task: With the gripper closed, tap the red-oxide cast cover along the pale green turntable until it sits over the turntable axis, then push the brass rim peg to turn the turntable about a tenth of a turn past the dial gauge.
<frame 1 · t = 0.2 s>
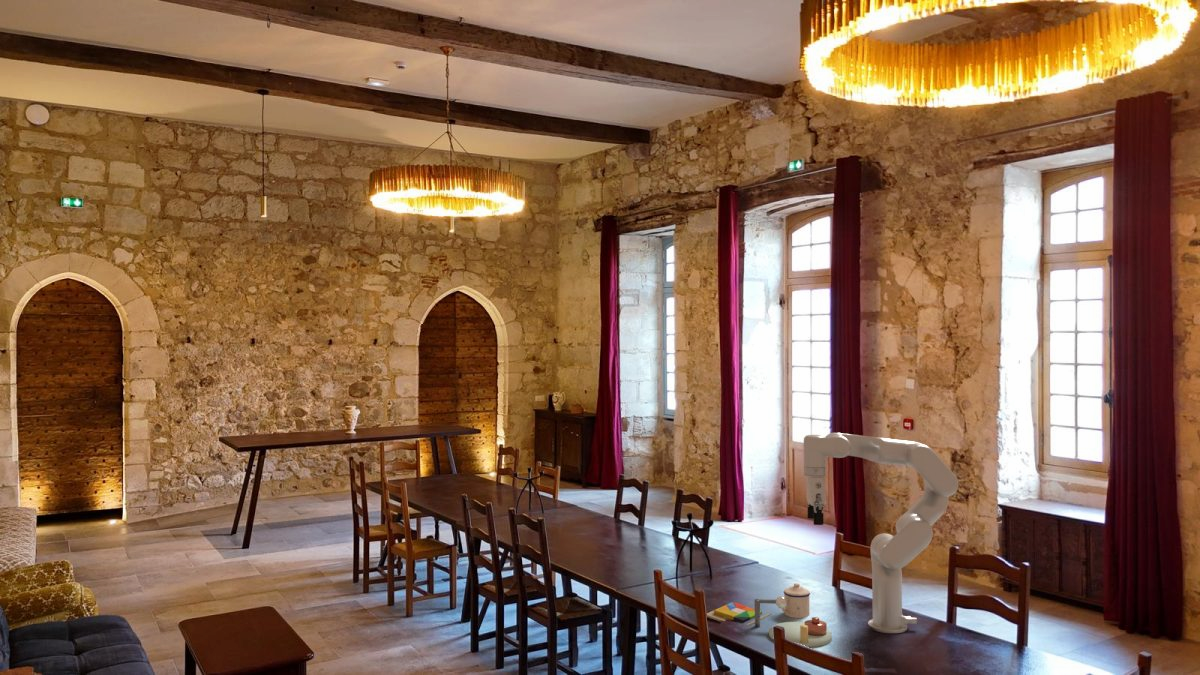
hand: (815, 521, 294), 36 cm above the table, tool pointing down, fingers open, 9 cm apart
turntable: (800, 626, 282), point 4 cm above the table, hinge at 0.0°, touching cover
wooden puzzle: (737, 619, 305), on the table
cover: (815, 632, 282), point 2 cm above the table, touching turntable
teacup with lid: (794, 617, 304), on the table
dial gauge: (757, 629, 293), resting in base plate
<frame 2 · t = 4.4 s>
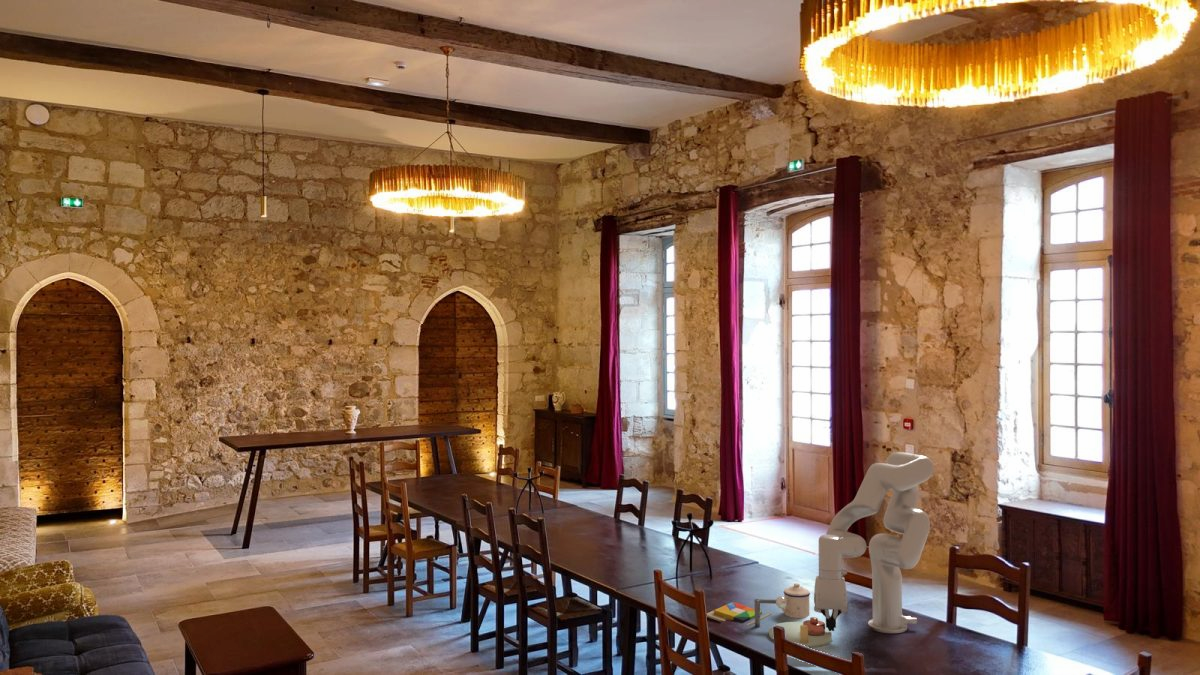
hand: (830, 629, 282), 3 cm above the table, tool pointing down, fingers closed
cover: (814, 632, 282), point 2 cm above the table, touching gripper, turntable
everything else where it was.
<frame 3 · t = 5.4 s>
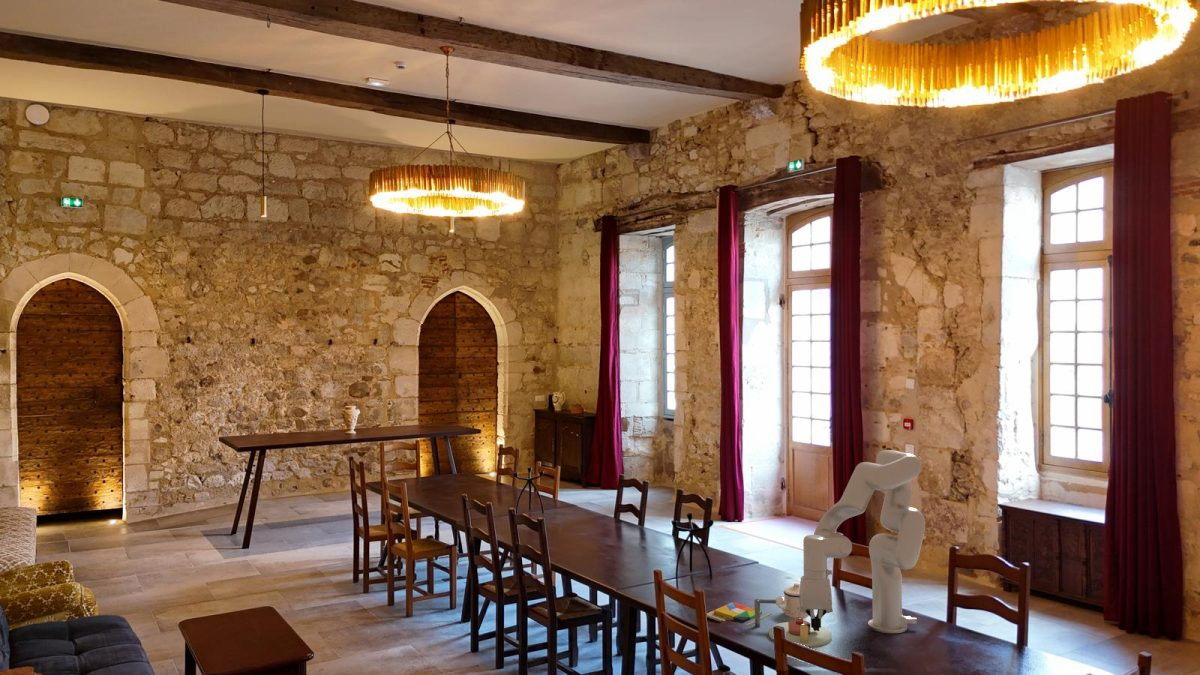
hand: (816, 629, 282), 3 cm above the table, tool pointing down, fingers closed
cover: (799, 632, 282), point 2 cm above the table, touching gripper, turntable
everything else where it was.
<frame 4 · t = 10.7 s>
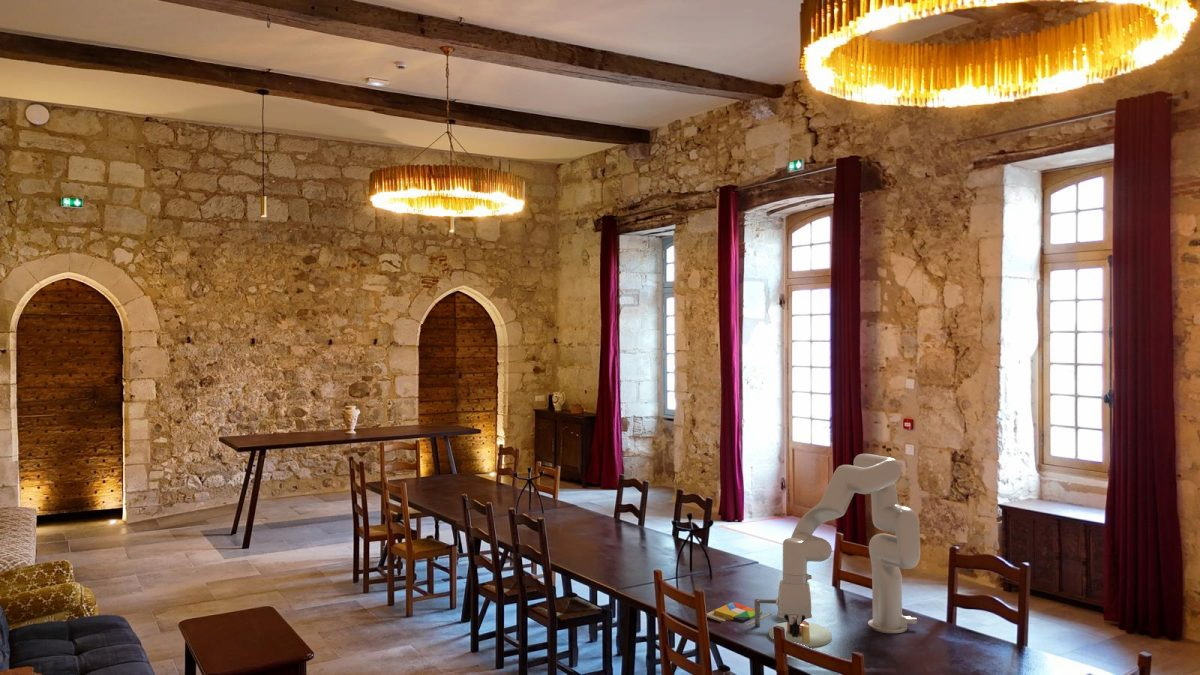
hand: (794, 635, 274), 4 cm above the table, tool pointing down, fingers closed
turntable: (800, 626, 282), point 4 cm above the table, hinge at 3.1°, touching cover, gripper
cover: (798, 632, 282), point 2 cm above the table, touching turntable
everything else where it was.
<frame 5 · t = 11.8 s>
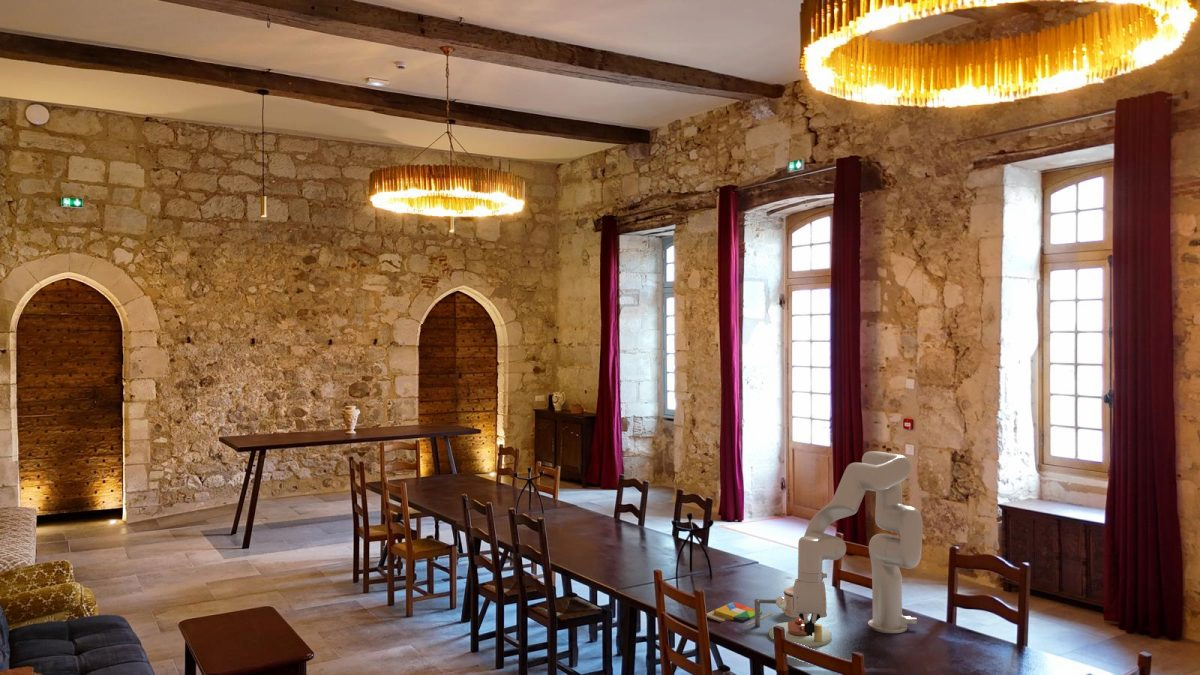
hand: (809, 634, 273), 5 cm above the table, tool pointing down, fingers closed
turntable: (800, 626, 282), point 4 cm above the table, hinge at 30.0°, touching cover, gripper
everything else where it was.
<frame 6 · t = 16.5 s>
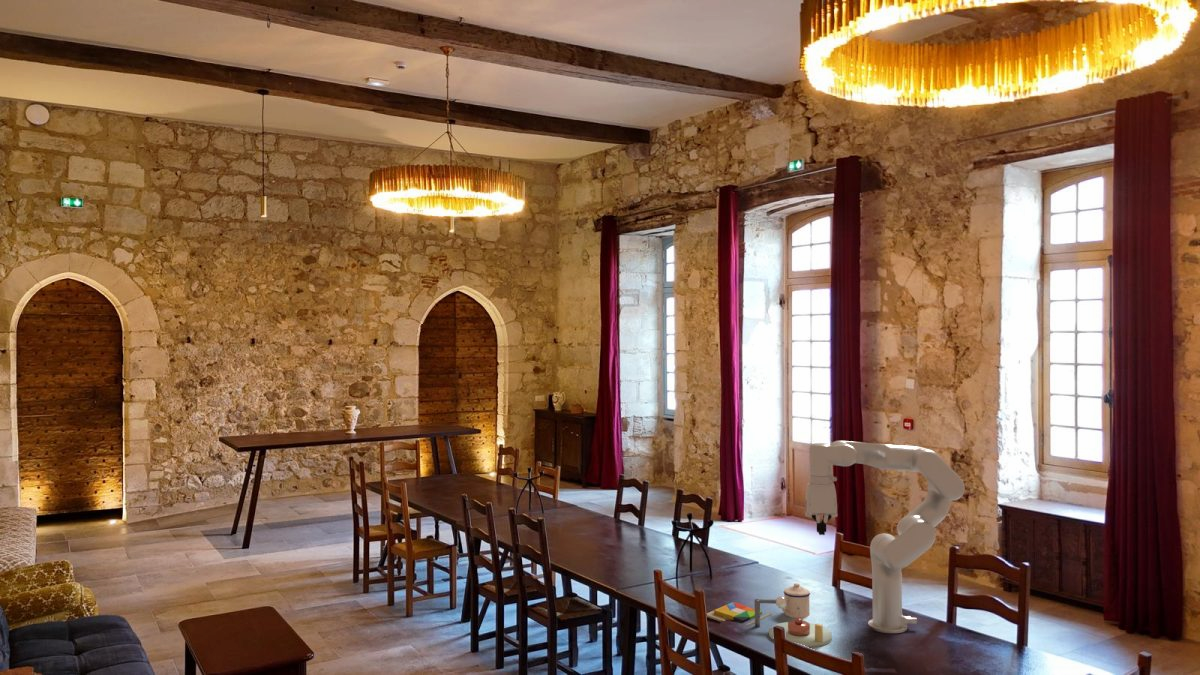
hand: (821, 534, 292), 32 cm above the table, tool pointing down, fingers closed
turntable: (800, 626, 282), point 4 cm above the table, hinge at 32.2°, touching cover
everything else where it was.
at the end: cover 0.8 cm off-centre on the turntable, point 1.4 cm above the turntable's base; turntable at +32° (first picture: +0°); cover tilted 0° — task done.
